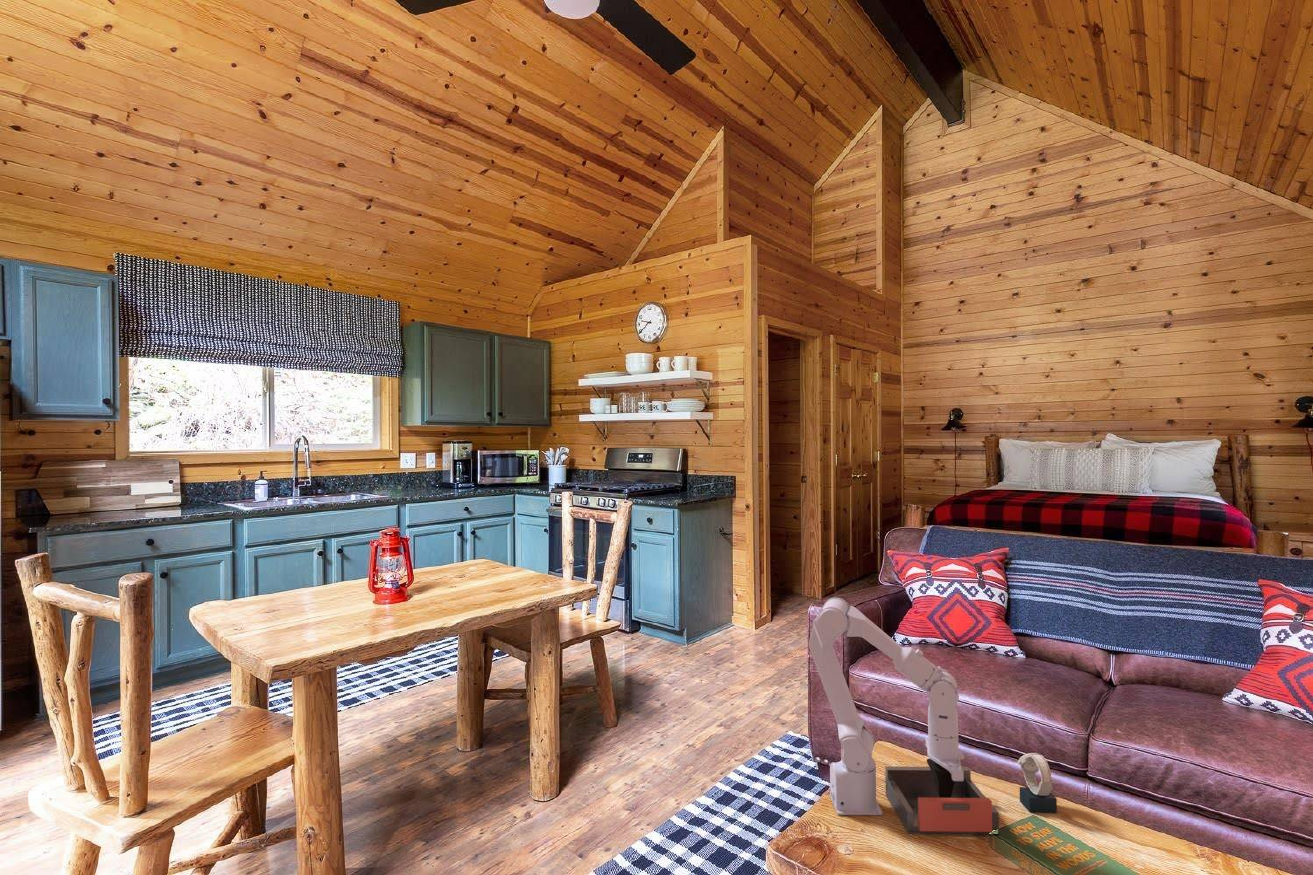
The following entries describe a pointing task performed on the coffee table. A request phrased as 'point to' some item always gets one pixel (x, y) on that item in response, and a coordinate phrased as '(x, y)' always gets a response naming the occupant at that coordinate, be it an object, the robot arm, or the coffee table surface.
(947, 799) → the panel
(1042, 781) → the ring sculpture
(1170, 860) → the coffee table surface
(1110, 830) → the coffee table surface
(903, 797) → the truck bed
